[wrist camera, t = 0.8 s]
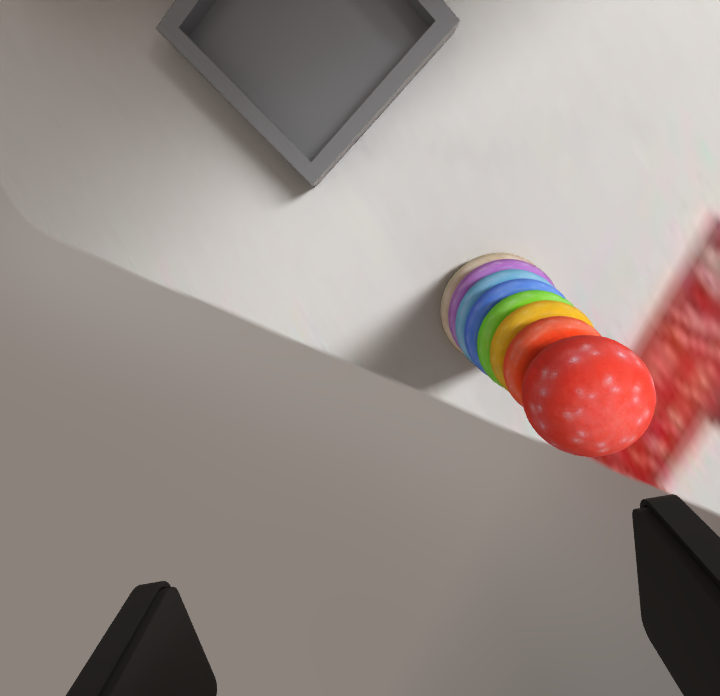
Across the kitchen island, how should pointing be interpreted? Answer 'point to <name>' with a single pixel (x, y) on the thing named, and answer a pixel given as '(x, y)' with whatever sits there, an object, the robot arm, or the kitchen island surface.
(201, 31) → the tray
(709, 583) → the robot arm
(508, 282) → the stacking toy
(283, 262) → the kitchen island surface
